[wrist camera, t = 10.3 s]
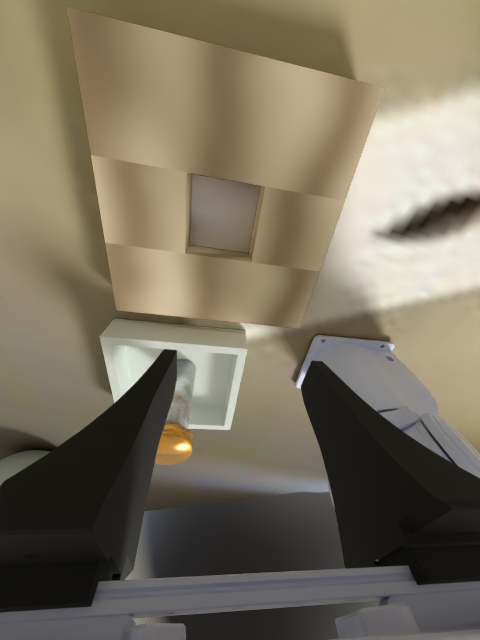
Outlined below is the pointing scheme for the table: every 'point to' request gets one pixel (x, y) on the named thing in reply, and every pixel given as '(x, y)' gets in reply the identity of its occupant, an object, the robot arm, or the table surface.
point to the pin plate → (214, 167)
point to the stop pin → (178, 418)
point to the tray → (192, 344)
